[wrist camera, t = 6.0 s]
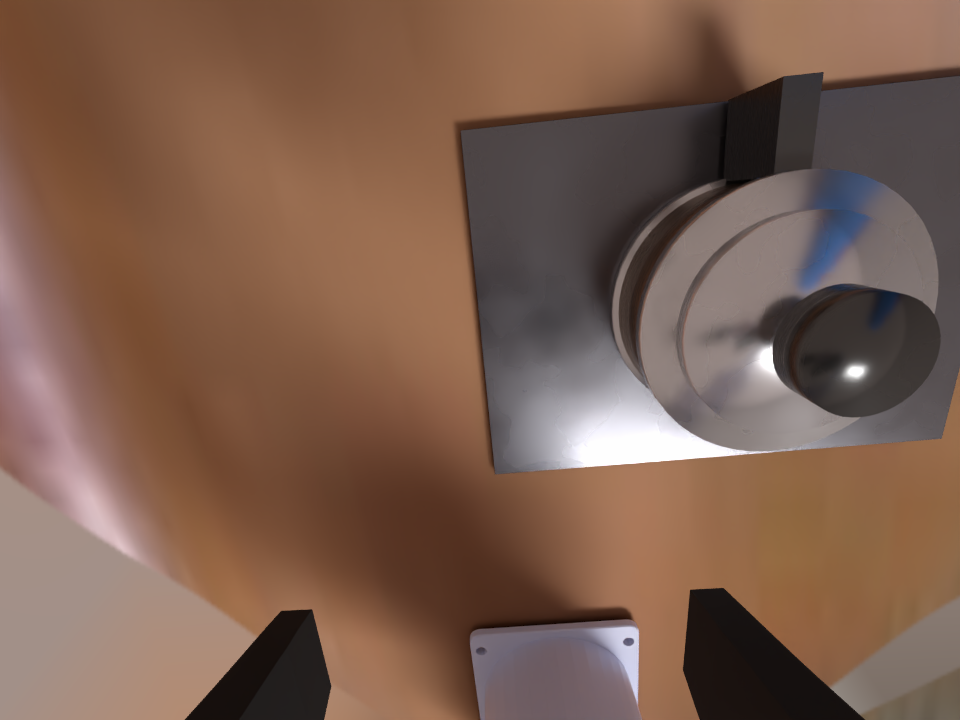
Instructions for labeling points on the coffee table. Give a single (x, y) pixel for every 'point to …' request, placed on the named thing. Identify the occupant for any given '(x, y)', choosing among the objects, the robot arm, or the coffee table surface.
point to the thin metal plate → (687, 257)
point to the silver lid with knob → (807, 323)
